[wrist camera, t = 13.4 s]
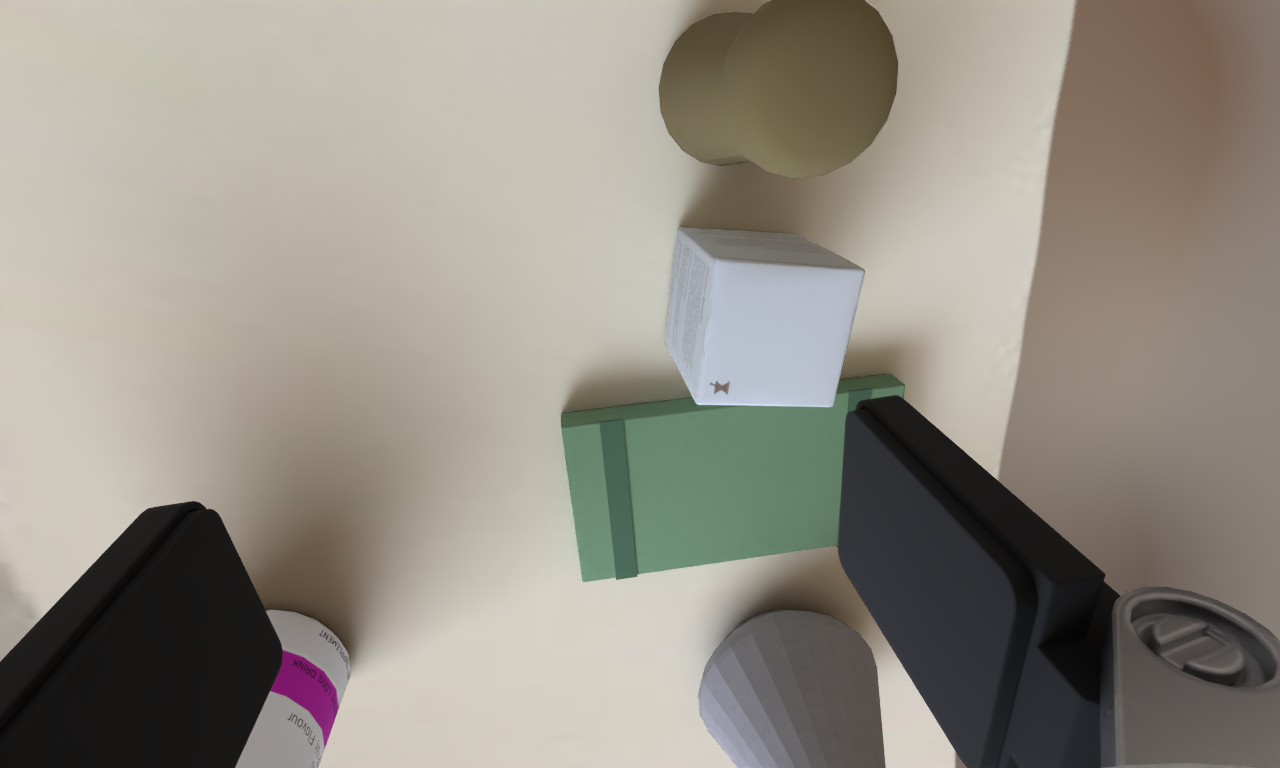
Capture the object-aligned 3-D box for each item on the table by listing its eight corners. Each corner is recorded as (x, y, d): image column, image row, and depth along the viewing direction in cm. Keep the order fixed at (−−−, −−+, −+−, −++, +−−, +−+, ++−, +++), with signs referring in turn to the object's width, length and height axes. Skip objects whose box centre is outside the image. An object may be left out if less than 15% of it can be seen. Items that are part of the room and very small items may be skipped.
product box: (776, 350, 33) (834, 413, 26) (661, 344, 32) (691, 409, 25) (799, 231, 30) (870, 267, 24) (675, 221, 29) (713, 256, 23)
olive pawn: (722, -23, 25) (834, -105, 15) (822, 81, 28) (976, 69, 18) (630, 103, 27) (678, 103, 17) (730, 193, 29) (826, 240, 19)
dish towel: (560, 411, 32) (561, 427, 31) (890, 371, 34) (906, 384, 33) (581, 564, 37) (582, 584, 35) (874, 522, 38) (887, 540, 37)
